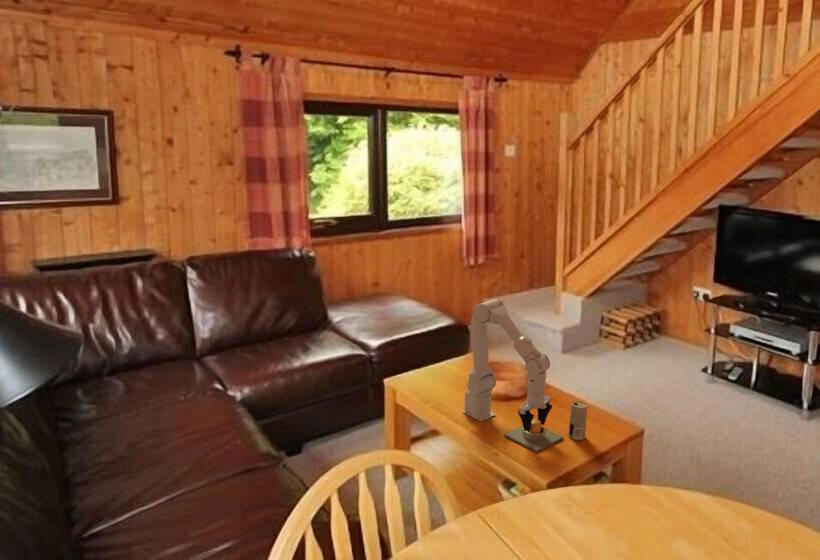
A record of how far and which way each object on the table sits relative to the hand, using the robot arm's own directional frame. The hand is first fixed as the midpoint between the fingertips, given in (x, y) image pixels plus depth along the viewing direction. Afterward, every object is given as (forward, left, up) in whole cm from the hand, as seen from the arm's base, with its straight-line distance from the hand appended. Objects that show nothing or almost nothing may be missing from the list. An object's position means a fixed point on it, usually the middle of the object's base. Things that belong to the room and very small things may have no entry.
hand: (534, 427), depth 201 cm
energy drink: (+9, +12, -4) cm, 16 cm away
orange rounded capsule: (0, 0, -3) cm, 3 cm away
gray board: (0, 0, -4) cm, 4 cm away
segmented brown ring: (0, 0, -4) cm, 4 cm away
